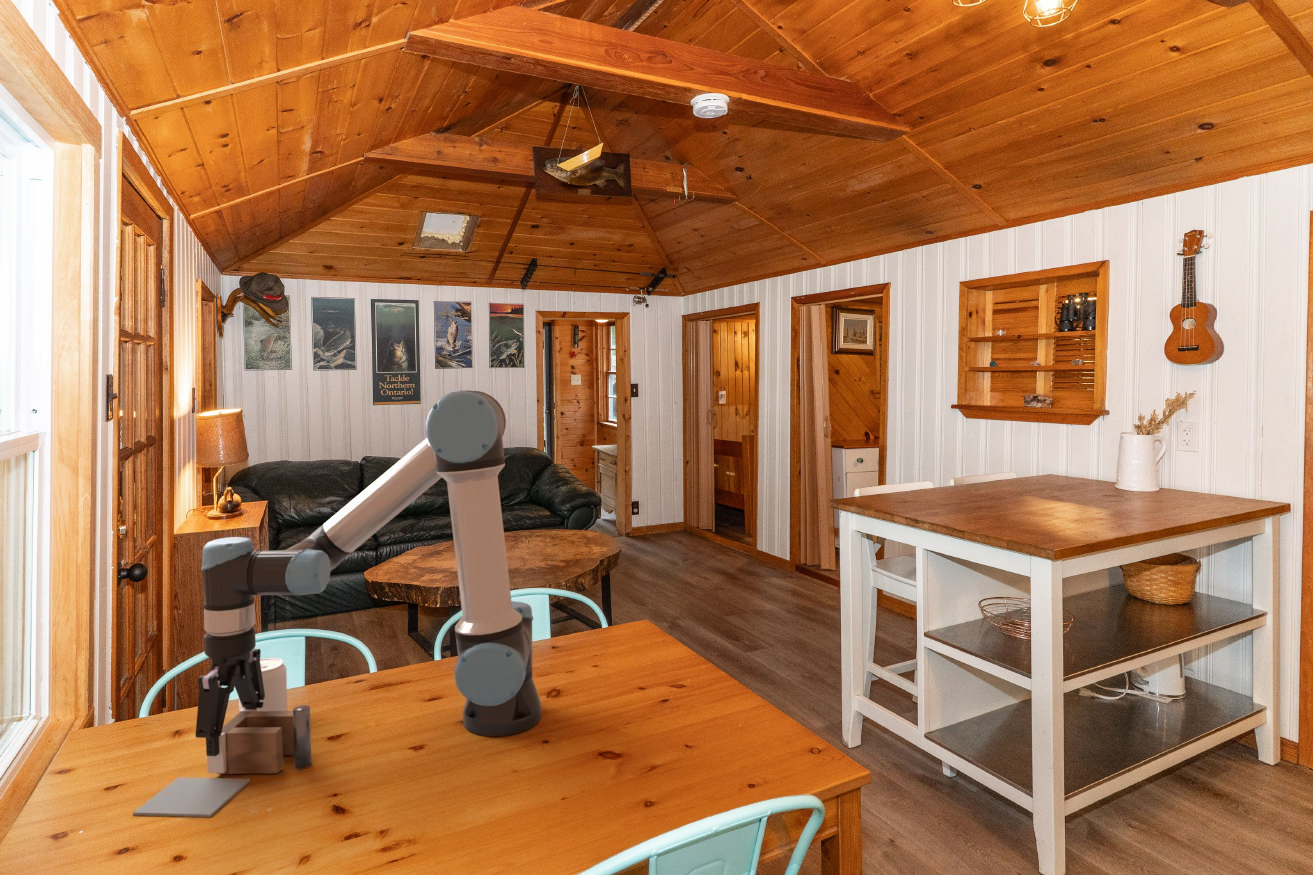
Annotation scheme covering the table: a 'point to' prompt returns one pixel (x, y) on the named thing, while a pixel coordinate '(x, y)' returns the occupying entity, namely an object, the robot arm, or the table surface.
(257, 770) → the c link
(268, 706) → the beverage can
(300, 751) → the post
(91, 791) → the table surface
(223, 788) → the mat
